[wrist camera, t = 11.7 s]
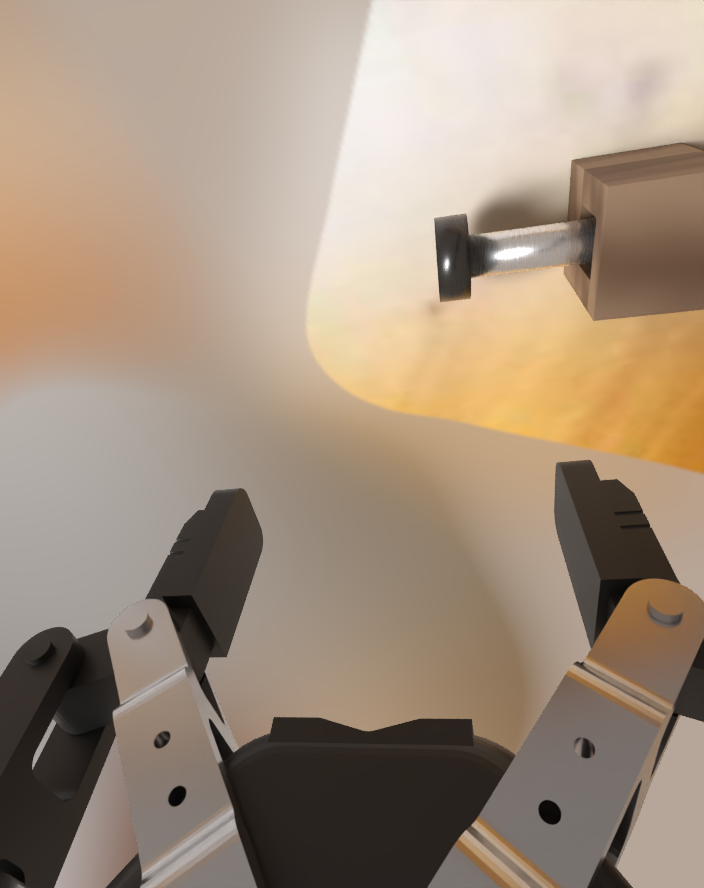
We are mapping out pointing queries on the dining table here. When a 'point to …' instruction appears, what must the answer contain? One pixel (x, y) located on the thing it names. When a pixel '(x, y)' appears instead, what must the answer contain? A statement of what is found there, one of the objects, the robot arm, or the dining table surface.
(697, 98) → the dining table surface
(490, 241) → the shaft
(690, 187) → the guide block
